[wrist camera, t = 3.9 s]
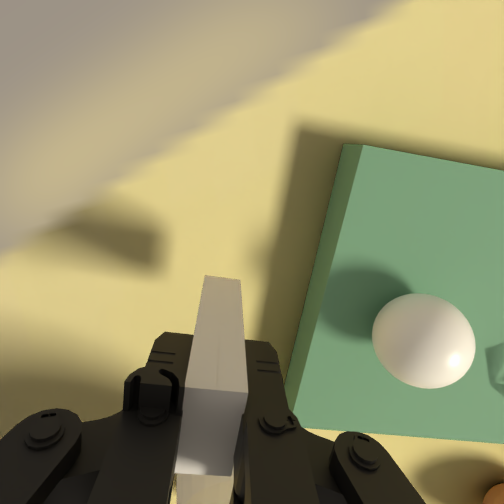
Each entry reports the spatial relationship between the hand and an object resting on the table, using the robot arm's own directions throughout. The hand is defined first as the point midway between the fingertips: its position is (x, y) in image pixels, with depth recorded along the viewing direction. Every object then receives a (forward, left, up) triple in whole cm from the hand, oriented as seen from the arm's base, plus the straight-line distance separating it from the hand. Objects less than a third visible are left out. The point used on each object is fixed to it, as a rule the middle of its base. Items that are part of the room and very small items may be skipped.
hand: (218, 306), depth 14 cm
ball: (+9, 0, +1) cm, 9 cm away
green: (+15, 0, -4) cm, 15 cm away
